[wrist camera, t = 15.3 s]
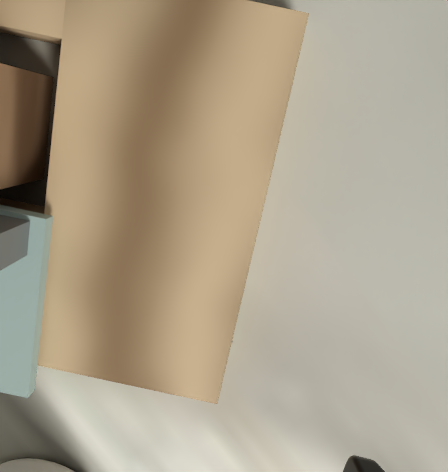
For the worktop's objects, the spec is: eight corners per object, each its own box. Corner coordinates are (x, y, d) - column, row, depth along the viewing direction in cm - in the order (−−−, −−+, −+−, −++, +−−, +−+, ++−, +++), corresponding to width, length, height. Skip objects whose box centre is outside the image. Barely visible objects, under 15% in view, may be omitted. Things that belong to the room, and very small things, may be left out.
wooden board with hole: (300, 29, 17) (309, 13, 15) (220, 373, 21) (217, 403, 19) (-186, -76, 17) (-255, -108, 15) (-173, 288, 21) (-226, 308, 19)
